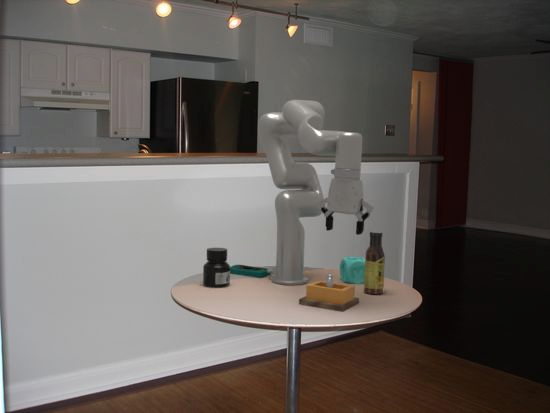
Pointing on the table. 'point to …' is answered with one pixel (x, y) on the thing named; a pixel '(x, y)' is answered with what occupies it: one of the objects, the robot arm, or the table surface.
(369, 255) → the sauce bottle
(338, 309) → the plate
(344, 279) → the decorative dice
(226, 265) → the ink bottle
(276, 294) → the table surface
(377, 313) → the table surface
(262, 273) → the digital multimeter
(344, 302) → the link
